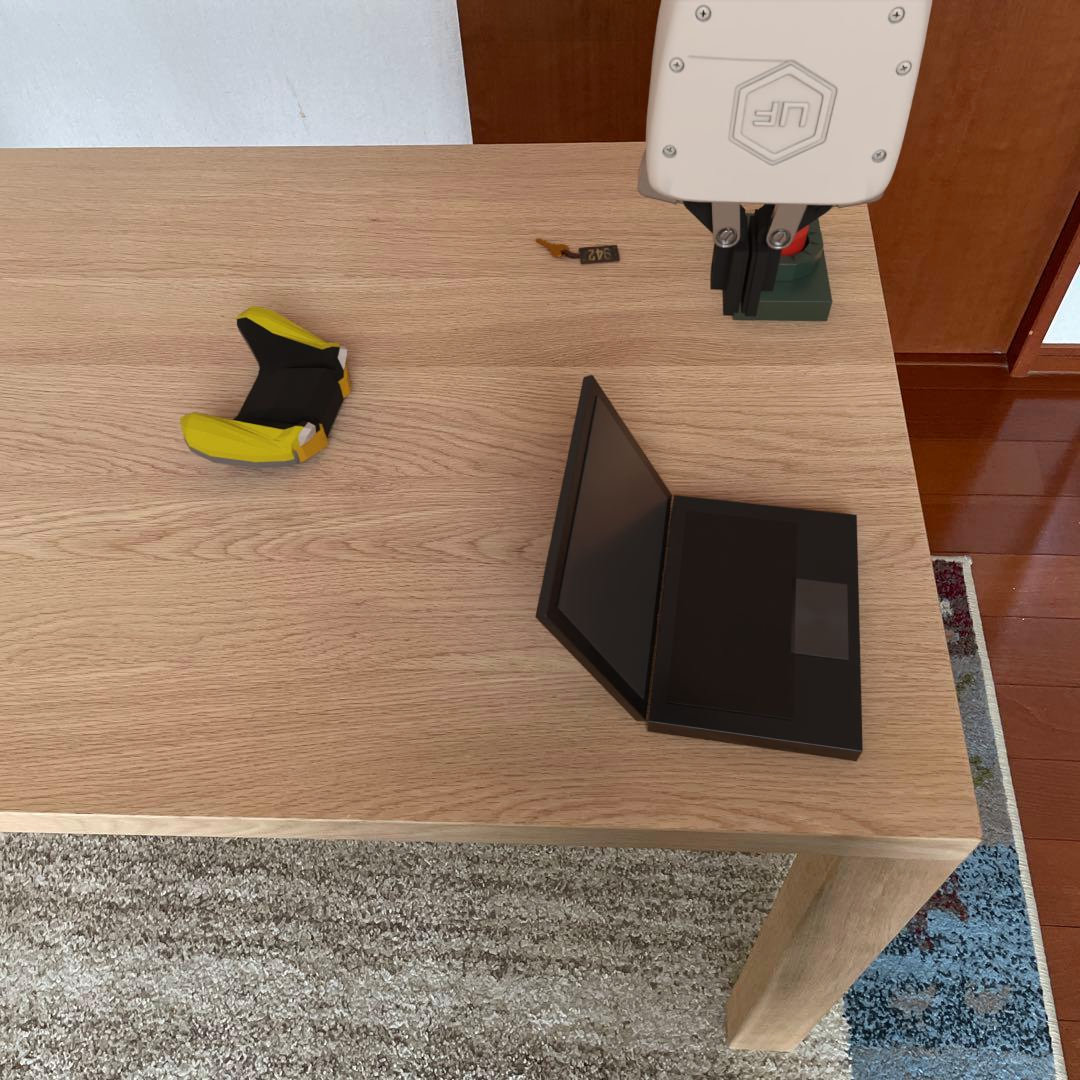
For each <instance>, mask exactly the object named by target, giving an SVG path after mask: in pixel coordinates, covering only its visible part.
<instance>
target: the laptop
mask: <svg viewBox="0 0 1080 1080" xmlns="http://www.w3.org/2000/svg"><path fill="white" fill-rule="evenodd" d="M858 545H859V544H858V515H857V514H854V513H845V512H835V511H827V510H826V511H825V510H817V509H809V508H808V509H807V508H800V507H790V506H789V507H788V506H779V505H771V504H761V503H752V502H742V501H736V500H735V501H733V500H725V499H716V498H707V497H696V496H689V495H681V494H680V495H679V494H674V495H673V497H672V505H671V514H670V522H669V531H668V540H667V549H666V551H667V552H666V558H665V566H664V568H665V569H664V575H663V584H662V593H661V595H662V596H661V601H660V602H661V603H660V604H661V605H660V610H659V619H658V621H659V622H658V628H657V629H658V630H657V636H656V645H655V654H654V656H655V657H654V663H653V664H654V665H653V672H652V680H651V682H652V683H651V689H650V690H651V691H650V698H649V699H650V700H649V707H648V708H649V709H648V715H647V717H648V718H647V726H646V732H649V733H656V734H662V735H668V736H669V735H670V736H677V737H684V738H691V739H697V740H703V741H704V740H705V741H711V742H719V743H726V744H733V745H738V746H739V745H740V746H746V747H754V748H761V749H767V750H775V751H780V752H781V751H782V752H787V753H794V754H795V753H796V754H803V755H809V756H810V755H811V756H815V757H824V758H829V759H837V760H845V761H851V762H857V761H858V760H859V758H860V757H861V755H862V753H863V752H864V749H863V748H864V746H863V705H862V704H863V701H862V665H861V664H862V663H861V629H860V628H861V626H860V624H861V623H860V588H859V587H860V586H859V550H858V549H859V546H858Z"/></svg>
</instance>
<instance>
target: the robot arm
mask: <svg viewBox="0 0 1080 1080" xmlns="http://www.w3.org/2000/svg"><path fill="white" fill-rule="evenodd" d="M932 6H933V0H660V5H659V8H658V15H657V21H656V28H655V36H654V42H653V50H652V57H651V71H650V81H649V90H648V101H647V110H646V111H647V112H646V123H645V126H646V127H645V148H644V151H643V153H642V154H643V155H642V158H641V160H640V163H639V166H638V169H637V183H636V184H637V186H636V188H637V192H638V194H640V196H642V197H644V198H648V199H652V200H657V201H660V202H663V203H664V202H665V203H668V204H673V205H677V204H681V205H683V206H684V208H686V210H687V211H689V212H690V213H691V214H692V216H693V217H695V218H696V219H697V220H698V221H699V222H700V223H701V224H702V225H703V226H704V227H705V228H706V229H707V230H708V231H709V232H710V233H711V234H712V240H713V242H714V244H713V251H712V256H711V257H712V258H711V263H710V264H711V265H710V276H709V278H710V279H709V287H710V290H711V291H714V290H715V291H722V316H725V317H726V316H727V317H733V316H734V313H738V312H739V306H740V301H741V313H745V316H752V317H756V314H757V310H758V305H759V300H760V295H761V291H769V292H772V291H773V289H774V285H775V280H776V275H777V271H778V266H779V261H780V257H781V252H782V249H784V248H786V247H788V246H789V245H790V244H791V243H792V241H793V239H794V237H795V234H796V233H797V232H798V231H800V230H801V229H803V228H804V227H806V226H807V225H809V224H810V223H812V222H813V221H815V220H816V219H818V218H819V219H820V218H821V217H822V216H824V215H826V214H827V213H828V212H829V211H830V210H831V209H833V208H837V209H838V210H839V209H844V208H850V207H854V206H862V205H866V204H867V205H868V204H873V203H876V202H879V200H881V199H882V198H883V196H884V195H885V190H886V189H887V188H888V186H889V184H890V183H891V180H892V178H893V175H894V173H895V170H896V167H897V164H898V161H899V157H900V154H901V150H902V146H903V143H904V139H905V134H906V130H907V127H908V126H907V125H908V122H909V117H910V112H911V109H912V105H913V99H914V95H915V91H916V86H917V83H918V78H919V72H920V68H921V64H922V62H921V61H922V58H923V54H924V49H925V43H926V40H927V39H926V38H927V32H928V26H929V23H930V22H929V21H930V16H931V10H932ZM742 204H750V205H751V204H754V205H762V206H760V207H759V208H755V209H754V212H753V213H754V216H750V219H749V225H748V221H747V215H746V213H747V212H746V208H745V207H744V206H743V205H742Z"/></svg>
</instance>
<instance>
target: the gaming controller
mask: <svg viewBox="0 0 1080 1080" xmlns="http://www.w3.org/2000/svg"><path fill="white" fill-rule="evenodd" d="M236 327H237V330H238V332H239V334H240V336H241V337H242V338H243V340H244V342H245V344H246V345H247V347H248V348H249V351H250V352H251V354H252V356H253V357H254V359H255V361H256V363H257V365H258V368H259V369H258V373H257V376H256V378H255V380H254V382H253V384H252V386H251V388H250V390H249V392H248V394H247V395H246V398H245V399H244V402H243V405H242V406H241V408H240V410H239V412H238V414H237V415H236V416H235V417H234V418H233V419H228V418H225V417H222V416H217V415H212V414H207V413H201V412H196V411H193V412H190V413H188V414H185V415H182V416H181V417H180V418H179V423H180V424H179V425H180V428H181V431H182V437H183V441H184V442H185V444H186V445H187V447H188V449H189V451H190V452H191V453H193V454H195V455H198V456H199V457H201V458H204V459H205V460H207V461H210V462H212V463H214V464H221V465H230V466H237V467H245V468H253V469H267V468H282V467H284V468H285V467H291V466H295V465H300V464H303V463H305V462H306V461H308V460H309V459H310V458H312V457H314V455H316V454H317V453H319V452H321V451H323V450H325V448H326V447H328V446H329V441H328V437H329V434H330V432H331V430H332V428H333V425H334V423H335V420H336V418H337V416H338V414H339V412H340V409H341V407H342V404H343V402H344V400H345V398H346V397H347V396H349V395H350V394H351V393H352V392H351V391H352V384H351V379H350V378H351V377H350V370H349V365H348V362H347V356H348V347H346V346H342V345H340V343H339V342H328V341H325V340H324V339H322V338H320V337H319V336H317V335H315V334H313V333H311V332H310V331H308V330H307V329H305V328H303V327H301V326H300V325H298V324H297V323H295V322H293V321H291V320H289V319H288V318H286V317H284V316H283V315H281V314H279V313H277V312H276V311H274V310H272V309H269V308H266V307H265V308H264V307H261V306H257V305H252V306H250V307H248V308H247V309H245V310H243V311H242V312H240V313H239V314H238V315H237V316H236Z"/></svg>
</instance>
